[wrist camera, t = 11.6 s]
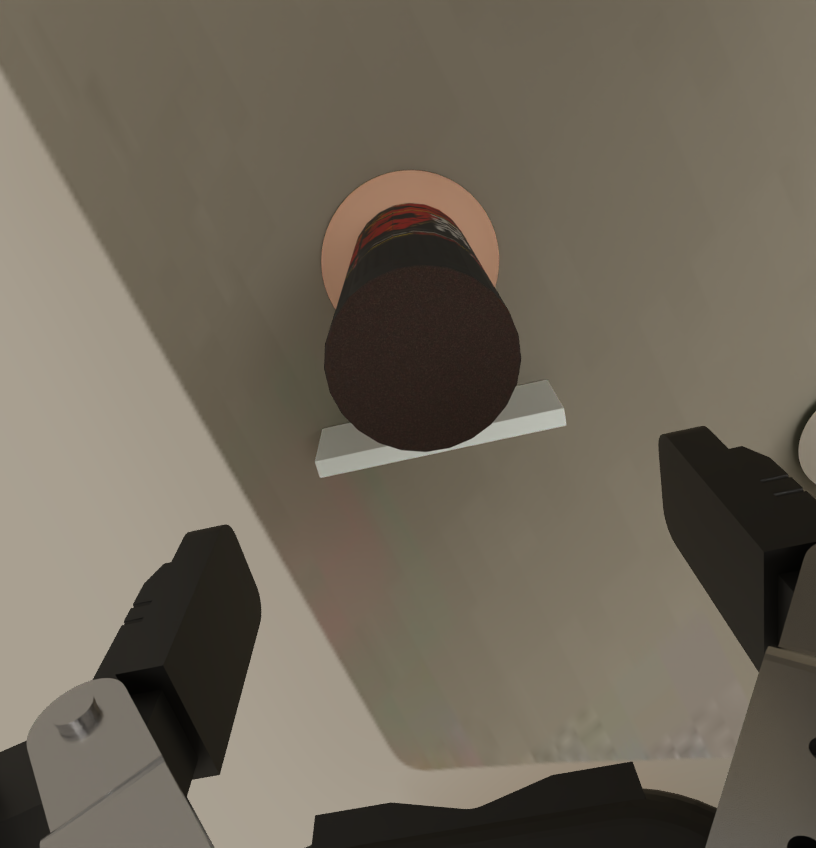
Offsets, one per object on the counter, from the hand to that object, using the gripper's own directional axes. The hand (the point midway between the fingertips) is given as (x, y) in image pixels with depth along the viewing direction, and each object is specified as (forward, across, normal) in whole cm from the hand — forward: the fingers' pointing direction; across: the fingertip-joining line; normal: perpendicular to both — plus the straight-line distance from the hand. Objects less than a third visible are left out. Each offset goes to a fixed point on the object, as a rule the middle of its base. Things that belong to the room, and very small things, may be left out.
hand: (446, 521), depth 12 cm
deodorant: (+24, 0, 0) cm, 24 cm away
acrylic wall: (+24, +1, +8) cm, 25 cm away
